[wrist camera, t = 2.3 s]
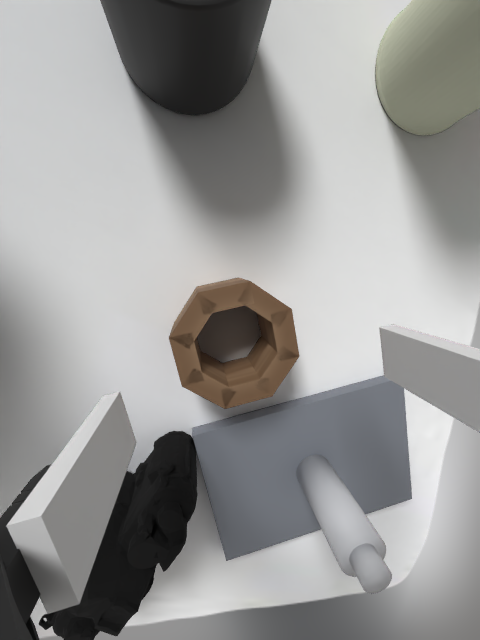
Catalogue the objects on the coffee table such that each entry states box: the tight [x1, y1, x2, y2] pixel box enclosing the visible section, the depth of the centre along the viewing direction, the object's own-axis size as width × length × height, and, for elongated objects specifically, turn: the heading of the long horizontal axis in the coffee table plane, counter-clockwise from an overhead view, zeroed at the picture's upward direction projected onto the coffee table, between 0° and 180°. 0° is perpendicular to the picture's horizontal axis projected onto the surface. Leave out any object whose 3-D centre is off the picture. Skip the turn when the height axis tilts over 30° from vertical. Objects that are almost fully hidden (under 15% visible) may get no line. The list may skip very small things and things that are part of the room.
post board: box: [192, 376, 412, 594], centre depth 22 cm, size 20×14×11 cm
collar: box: [169, 278, 299, 409], centre depth 21 cm, size 8×8×5 cm
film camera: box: [39, 431, 197, 640], centre depth 20 cm, size 15×10×9 cm, turn 142°
